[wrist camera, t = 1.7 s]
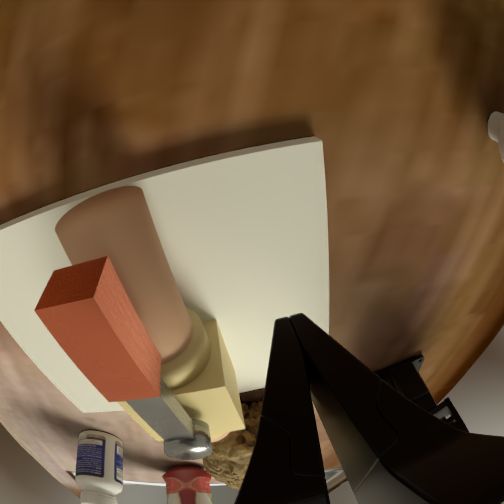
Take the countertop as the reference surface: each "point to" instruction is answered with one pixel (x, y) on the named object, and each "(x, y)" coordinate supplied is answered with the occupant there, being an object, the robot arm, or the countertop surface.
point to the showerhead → (497, 130)
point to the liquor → (187, 485)
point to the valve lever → (117, 351)
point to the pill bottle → (99, 467)
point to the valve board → (185, 270)
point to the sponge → (235, 449)
